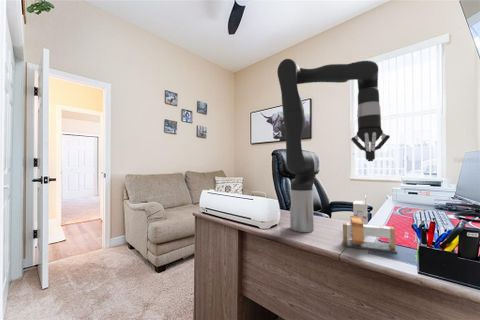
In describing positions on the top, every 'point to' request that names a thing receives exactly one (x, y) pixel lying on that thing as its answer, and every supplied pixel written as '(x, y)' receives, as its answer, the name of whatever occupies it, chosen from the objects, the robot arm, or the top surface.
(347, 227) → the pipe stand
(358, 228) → the tan cardboard carton
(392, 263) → the top surface
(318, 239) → the top surface
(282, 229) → the top surface
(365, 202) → the ink cartridge box
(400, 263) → the top surface
